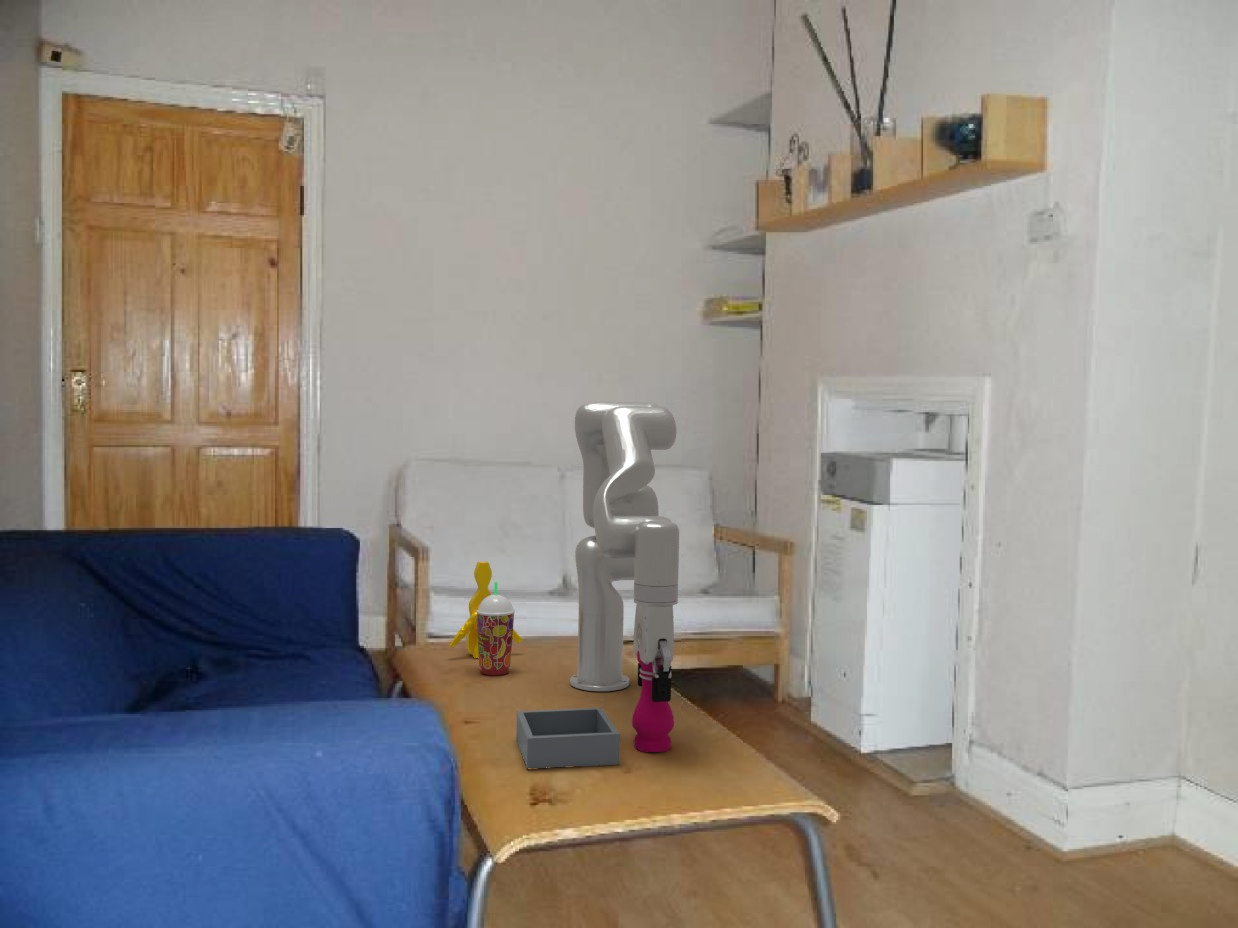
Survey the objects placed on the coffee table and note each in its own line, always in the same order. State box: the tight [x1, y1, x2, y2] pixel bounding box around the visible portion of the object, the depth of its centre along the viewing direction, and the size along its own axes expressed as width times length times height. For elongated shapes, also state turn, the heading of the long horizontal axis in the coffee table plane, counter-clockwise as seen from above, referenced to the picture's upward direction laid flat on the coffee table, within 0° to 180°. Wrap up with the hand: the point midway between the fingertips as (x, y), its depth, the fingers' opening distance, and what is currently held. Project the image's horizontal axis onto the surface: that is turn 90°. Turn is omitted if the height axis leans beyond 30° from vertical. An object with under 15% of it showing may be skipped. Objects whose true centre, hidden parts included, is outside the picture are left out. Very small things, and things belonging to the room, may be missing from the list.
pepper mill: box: [631, 647, 675, 753], centre depth 167 cm, size 7×7×20 cm
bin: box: [515, 707, 621, 769], centre depth 164 cm, size 15×15×5 cm
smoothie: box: [476, 581, 515, 676], centre depth 215 cm, size 8×8×20 cm
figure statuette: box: [448, 561, 524, 659], centre depth 231 cm, size 18×8×22 cm, turn 113°
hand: (653, 693), depth 167 cm, fingers open, 9 cm apart
